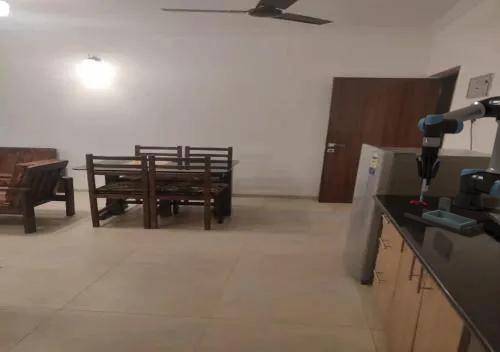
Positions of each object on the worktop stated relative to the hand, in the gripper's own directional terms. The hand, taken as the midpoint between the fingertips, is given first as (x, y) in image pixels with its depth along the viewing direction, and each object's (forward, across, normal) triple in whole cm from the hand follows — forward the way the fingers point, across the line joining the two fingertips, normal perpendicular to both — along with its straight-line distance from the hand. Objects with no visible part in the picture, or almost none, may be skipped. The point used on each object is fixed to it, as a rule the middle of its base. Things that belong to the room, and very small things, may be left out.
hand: (424, 190), depth 162 cm
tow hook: (+15, -17, +24) cm, 33 cm away
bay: (+15, +11, 0) cm, 18 cm away
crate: (+14, +14, 0) cm, 20 cm away
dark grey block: (+15, +3, +15) cm, 21 cm away
